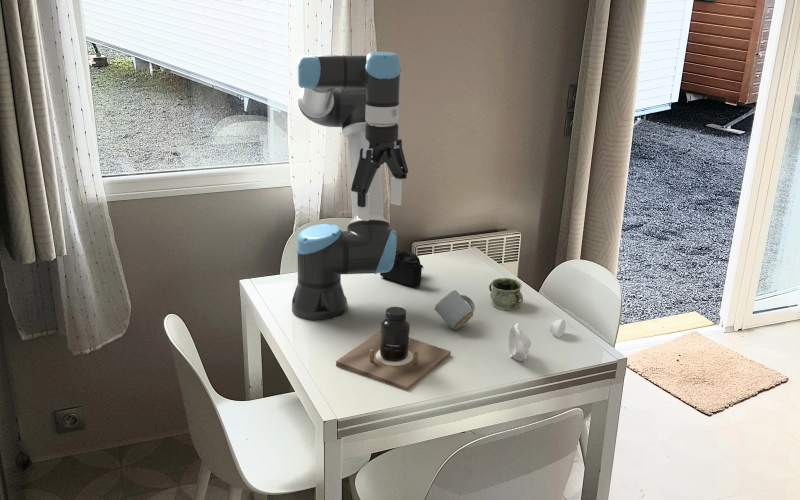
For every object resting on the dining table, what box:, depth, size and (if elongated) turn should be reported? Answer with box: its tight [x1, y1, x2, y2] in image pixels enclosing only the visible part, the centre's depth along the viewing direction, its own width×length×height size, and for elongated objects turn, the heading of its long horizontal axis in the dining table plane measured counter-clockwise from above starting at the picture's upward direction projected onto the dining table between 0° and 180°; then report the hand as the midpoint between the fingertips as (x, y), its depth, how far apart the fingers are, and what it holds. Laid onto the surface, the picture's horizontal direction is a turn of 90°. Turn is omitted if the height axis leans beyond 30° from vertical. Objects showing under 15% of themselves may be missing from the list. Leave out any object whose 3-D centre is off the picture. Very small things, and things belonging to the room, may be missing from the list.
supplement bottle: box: [380, 306, 411, 362], centre depth 185 cm, size 7×7×12 cm
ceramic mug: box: [434, 289, 476, 331], centre depth 204 cm, size 11×8×8 cm
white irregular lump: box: [549, 319, 567, 339], centre depth 201 cm, size 5×3×5 cm, turn 149°
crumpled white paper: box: [508, 322, 532, 362], centre depth 188 cm, size 10×4×10 cm, turn 5°
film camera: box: [379, 249, 424, 288], centre depth 233 cm, size 15×10×9 cm, turn 52°
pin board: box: [335, 330, 452, 391], centre depth 187 cm, size 20×20×4 cm
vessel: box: [488, 277, 524, 311], centre depth 218 cm, size 12×9×6 cm
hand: (380, 211), depth 184 cm, fingers open, 13 cm apart
